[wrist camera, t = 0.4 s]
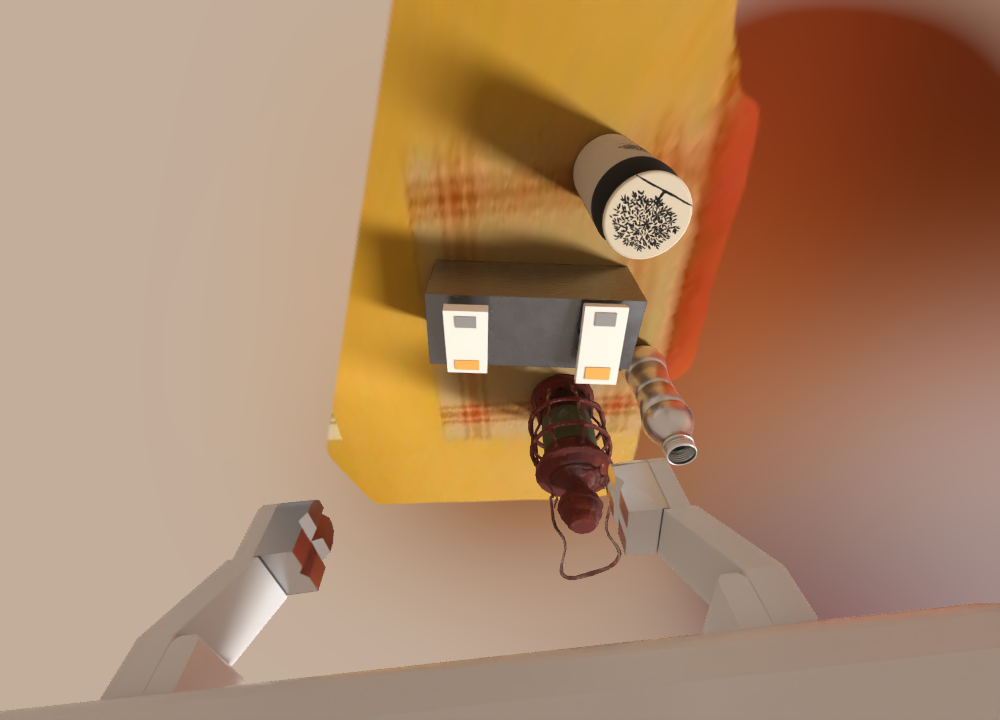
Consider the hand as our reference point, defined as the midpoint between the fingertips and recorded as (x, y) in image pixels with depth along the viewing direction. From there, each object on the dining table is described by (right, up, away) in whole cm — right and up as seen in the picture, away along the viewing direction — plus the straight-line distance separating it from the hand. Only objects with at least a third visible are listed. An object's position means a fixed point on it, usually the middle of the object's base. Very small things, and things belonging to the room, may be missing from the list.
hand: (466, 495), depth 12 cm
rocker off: (+13, +6, +39) cm, 41 cm away
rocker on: (-3, +6, +39) cm, 39 cm away
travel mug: (+14, +27, +39) cm, 49 cm away
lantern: (+11, -3, +60) cm, 61 cm away
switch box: (+5, +13, +49) cm, 50 cm away
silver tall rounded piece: (+23, +4, +55) cm, 59 cm away
